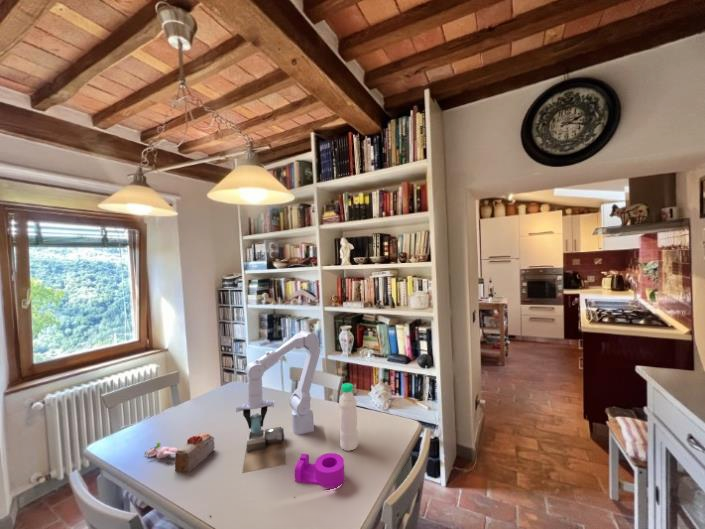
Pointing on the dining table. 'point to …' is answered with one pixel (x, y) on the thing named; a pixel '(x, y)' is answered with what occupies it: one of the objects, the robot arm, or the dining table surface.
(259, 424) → the blue bottle white cap
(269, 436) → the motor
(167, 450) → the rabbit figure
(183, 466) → the food item
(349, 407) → the water bottle
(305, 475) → the tape dispenser
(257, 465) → the mounting board
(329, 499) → the dining table surface
